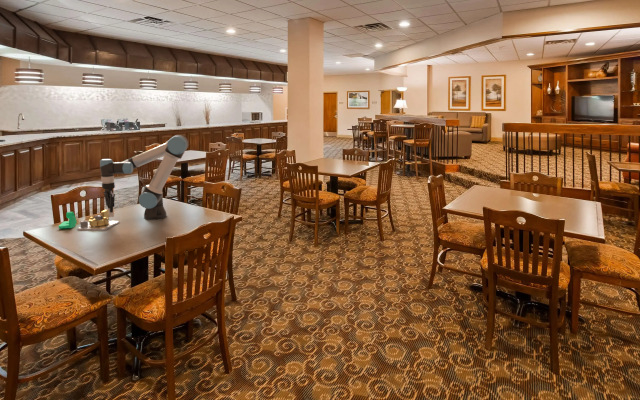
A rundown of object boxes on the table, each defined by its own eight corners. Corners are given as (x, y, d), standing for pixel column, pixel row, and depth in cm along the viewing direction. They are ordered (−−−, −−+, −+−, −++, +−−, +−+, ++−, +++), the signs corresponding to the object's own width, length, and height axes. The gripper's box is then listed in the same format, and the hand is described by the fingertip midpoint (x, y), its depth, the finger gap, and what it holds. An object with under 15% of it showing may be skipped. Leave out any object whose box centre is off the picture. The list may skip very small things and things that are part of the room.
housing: (119, 222, 276) (118, 212, 274) (105, 230, 258) (103, 219, 257) (92, 222, 276) (91, 212, 275) (76, 229, 259) (74, 219, 257)
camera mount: (64, 225, 269) (62, 210, 267) (77, 224, 272) (75, 209, 269) (58, 230, 258) (56, 214, 256) (71, 229, 260) (69, 214, 258)
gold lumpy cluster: (102, 226, 261) (101, 216, 260) (86, 226, 262) (85, 215, 260) (115, 219, 277) (114, 210, 275) (100, 219, 277) (98, 209, 276)
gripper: (118, 183, 265) (121, 217, 271) (109, 180, 274) (113, 213, 279) (106, 184, 260) (109, 219, 265) (98, 181, 268) (101, 215, 274)
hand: (111, 216), depth 272 cm, fingers closed
